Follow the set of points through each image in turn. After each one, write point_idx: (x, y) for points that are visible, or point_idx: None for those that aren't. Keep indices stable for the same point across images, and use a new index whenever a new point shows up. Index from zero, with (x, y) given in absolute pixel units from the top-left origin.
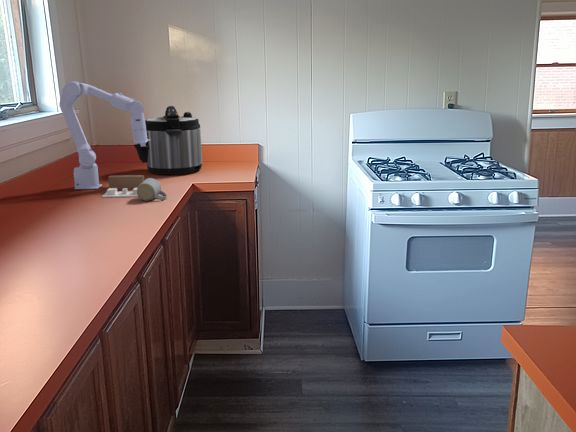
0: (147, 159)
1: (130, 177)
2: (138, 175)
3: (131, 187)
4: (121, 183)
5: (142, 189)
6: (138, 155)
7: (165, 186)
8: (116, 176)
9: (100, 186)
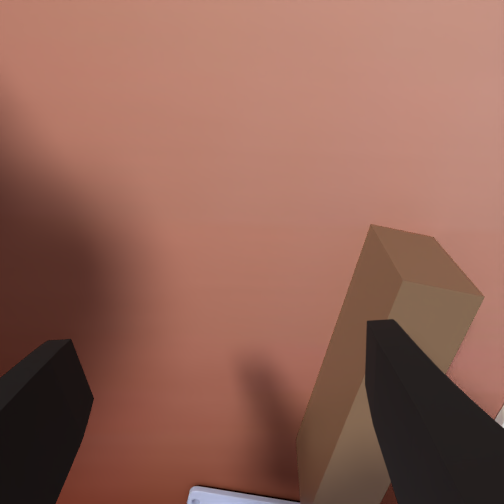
0: (415, 345)
1: None
2: None
3: None
4: None
5: None
6: (56, 490)
7: (406, 7)
8: (366, 494)
9: (240, 493)
